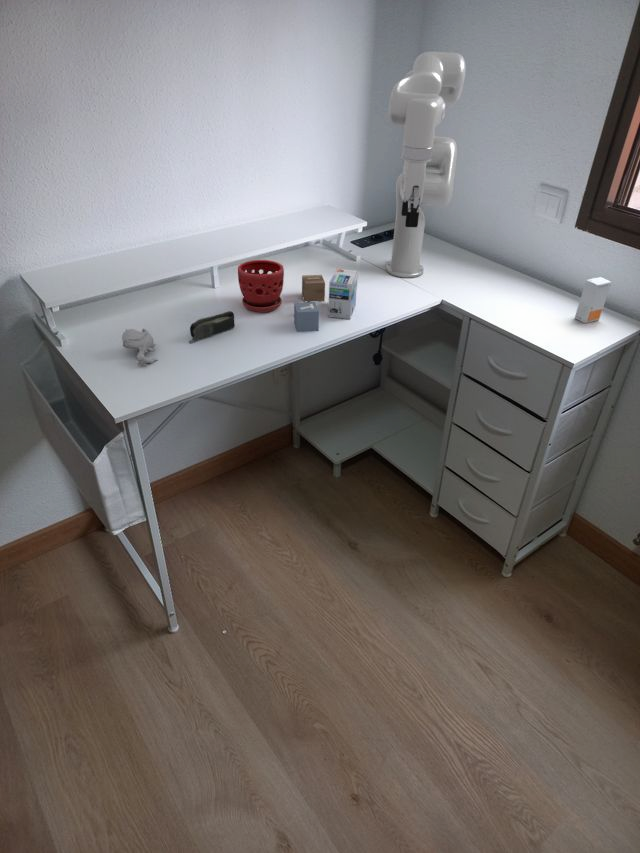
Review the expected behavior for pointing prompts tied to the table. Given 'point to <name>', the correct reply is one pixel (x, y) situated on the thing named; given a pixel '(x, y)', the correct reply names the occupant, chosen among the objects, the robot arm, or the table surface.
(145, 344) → the toy character
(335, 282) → the light bulb box
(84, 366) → the table surface
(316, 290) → the walnut digit block
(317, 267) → the table surface
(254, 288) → the plant pot
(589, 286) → the skincare box
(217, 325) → the dark green pouch
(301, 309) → the slate digit block
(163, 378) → the table surface
